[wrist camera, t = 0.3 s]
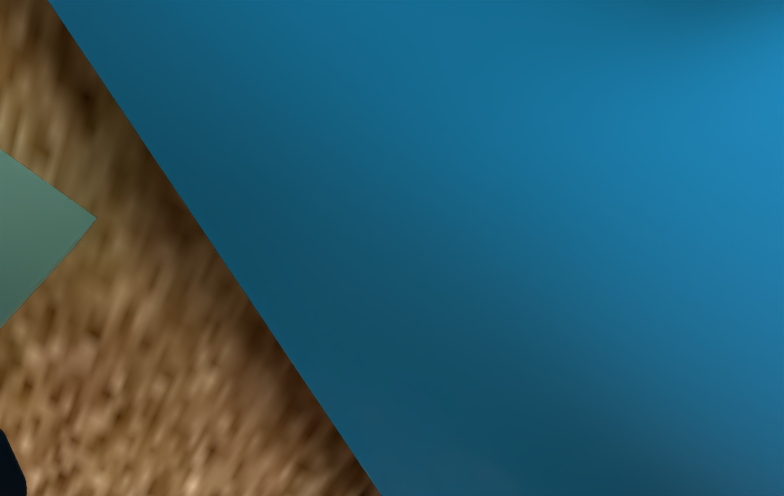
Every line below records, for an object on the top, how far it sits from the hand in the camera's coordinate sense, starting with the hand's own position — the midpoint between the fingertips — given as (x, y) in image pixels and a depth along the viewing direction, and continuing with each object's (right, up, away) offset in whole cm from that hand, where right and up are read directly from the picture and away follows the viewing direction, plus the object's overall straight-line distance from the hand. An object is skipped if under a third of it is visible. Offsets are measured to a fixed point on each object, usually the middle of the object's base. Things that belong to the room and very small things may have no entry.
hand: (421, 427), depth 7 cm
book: (+4, +5, +15) cm, 16 cm away
